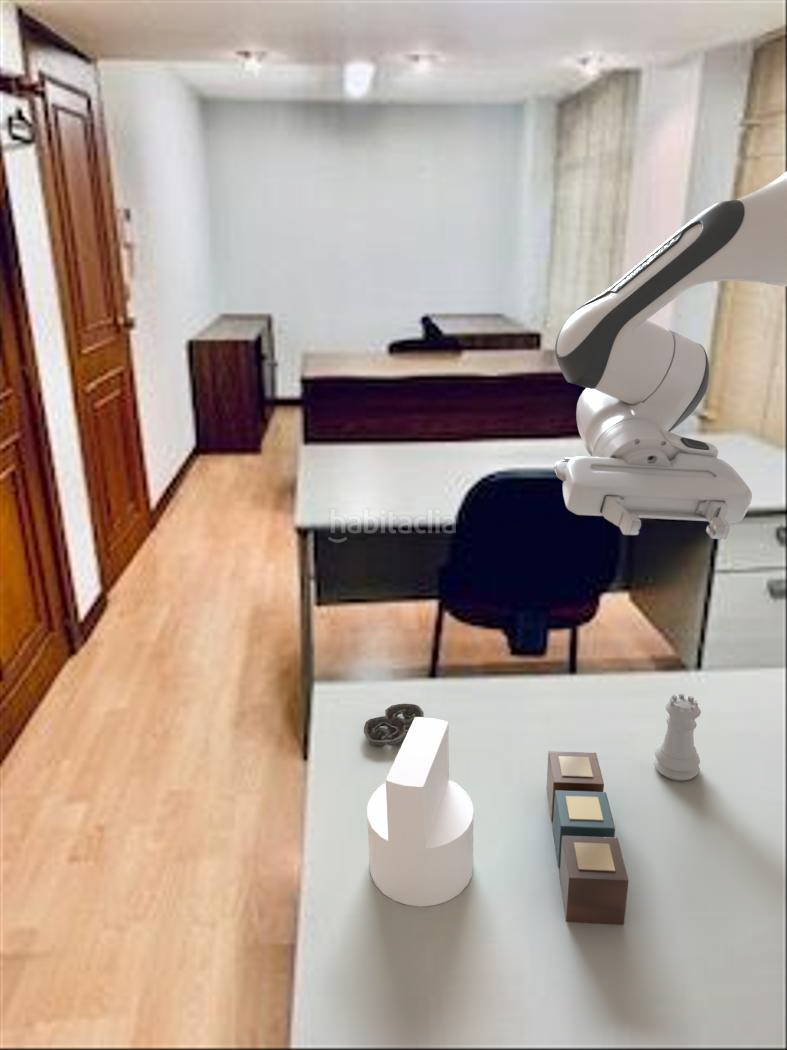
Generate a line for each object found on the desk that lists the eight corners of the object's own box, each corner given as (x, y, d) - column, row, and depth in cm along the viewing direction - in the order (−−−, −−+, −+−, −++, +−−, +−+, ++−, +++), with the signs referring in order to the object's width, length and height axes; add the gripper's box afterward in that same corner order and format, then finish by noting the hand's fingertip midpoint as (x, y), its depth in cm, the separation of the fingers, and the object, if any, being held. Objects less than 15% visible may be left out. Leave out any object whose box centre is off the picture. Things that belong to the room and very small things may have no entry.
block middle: (602, 831, 69) (606, 790, 67) (611, 870, 65) (615, 827, 63) (552, 829, 69) (554, 788, 68) (558, 867, 65) (560, 825, 64)
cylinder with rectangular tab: (460, 917, 61) (461, 796, 57) (355, 893, 63) (347, 775, 59) (482, 837, 69) (483, 725, 65) (387, 818, 71) (382, 710, 67)
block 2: (613, 879, 64) (617, 836, 62) (624, 924, 60) (628, 879, 58) (559, 877, 64) (562, 834, 63) (565, 921, 60) (568, 877, 58)
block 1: (593, 790, 74) (596, 751, 72) (600, 823, 70) (604, 783, 68) (546, 788, 74) (548, 750, 73) (551, 821, 70) (553, 781, 69)
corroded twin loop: (434, 721, 85) (434, 713, 85) (387, 756, 80) (386, 747, 79) (400, 704, 88) (400, 697, 88) (353, 737, 83) (352, 729, 82)
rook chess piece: (642, 761, 78) (649, 694, 75) (677, 749, 79) (685, 684, 77) (674, 788, 74) (682, 719, 71) (709, 775, 76) (719, 707, 73)
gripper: (556, 435, 87) (586, 501, 76) (727, 444, 89) (782, 511, 77) (545, 481, 91) (572, 551, 79) (710, 490, 92) (759, 560, 81)
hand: (677, 531), depth 78 cm, fingers open, 8 cm apart
